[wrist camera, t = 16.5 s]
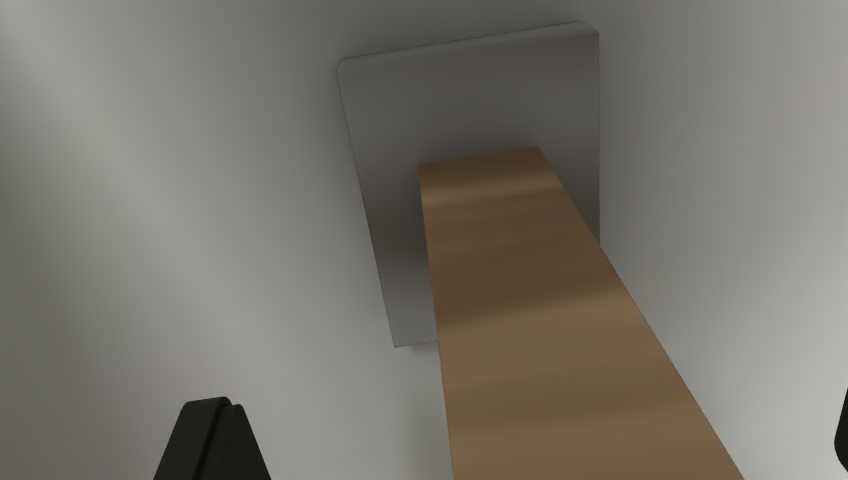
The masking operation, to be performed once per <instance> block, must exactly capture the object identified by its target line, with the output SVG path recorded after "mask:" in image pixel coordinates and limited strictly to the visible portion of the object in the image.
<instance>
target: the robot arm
mask: <svg viewBox="0 0 848 480" xmlns="http://www.w3.org/2000/svg"><path fill="white" fill-rule="evenodd" d="M834 446H835V451H836V454H837V457H838V459H839V461H840V462H841V464H842V465H843V467H844V468H845V469H846V470H847V472H848V389H847V392H846V396H845V400H844V404H843V408H842V412H841V416H840V420H839V423H838V427H837V431H836V435H835V440H834ZM153 480H271V478H270V475H269V473H268V470H267V468H266V465H265V462H264V460H263V457H262V455H261V452H260V449H259V447H258V444H257V442H256V439H255V437H254V434H253V431H252V429H251V426H250V424H249V421H248V418H247V416H246V413H245V411H244V409H243V407H242V406H241V405H240V404H236V405H232V404H231V402H230V400H229V399H228V398H227V397H216V398H210V399H203V400H196V401H189V402H187V403H186V404H184V406H183V408H182V410H181V412H180V414H179V417H178V419H177V422H176V424H175V427H174V429H173V432H172V434H171V437H170V439H169V442H168V444H167V447H166V449H165V451H164V454H163V456H162V459H161V461H160V464H159V466H158V469H157V471H156V474H155V476H154V479H153Z"/></svg>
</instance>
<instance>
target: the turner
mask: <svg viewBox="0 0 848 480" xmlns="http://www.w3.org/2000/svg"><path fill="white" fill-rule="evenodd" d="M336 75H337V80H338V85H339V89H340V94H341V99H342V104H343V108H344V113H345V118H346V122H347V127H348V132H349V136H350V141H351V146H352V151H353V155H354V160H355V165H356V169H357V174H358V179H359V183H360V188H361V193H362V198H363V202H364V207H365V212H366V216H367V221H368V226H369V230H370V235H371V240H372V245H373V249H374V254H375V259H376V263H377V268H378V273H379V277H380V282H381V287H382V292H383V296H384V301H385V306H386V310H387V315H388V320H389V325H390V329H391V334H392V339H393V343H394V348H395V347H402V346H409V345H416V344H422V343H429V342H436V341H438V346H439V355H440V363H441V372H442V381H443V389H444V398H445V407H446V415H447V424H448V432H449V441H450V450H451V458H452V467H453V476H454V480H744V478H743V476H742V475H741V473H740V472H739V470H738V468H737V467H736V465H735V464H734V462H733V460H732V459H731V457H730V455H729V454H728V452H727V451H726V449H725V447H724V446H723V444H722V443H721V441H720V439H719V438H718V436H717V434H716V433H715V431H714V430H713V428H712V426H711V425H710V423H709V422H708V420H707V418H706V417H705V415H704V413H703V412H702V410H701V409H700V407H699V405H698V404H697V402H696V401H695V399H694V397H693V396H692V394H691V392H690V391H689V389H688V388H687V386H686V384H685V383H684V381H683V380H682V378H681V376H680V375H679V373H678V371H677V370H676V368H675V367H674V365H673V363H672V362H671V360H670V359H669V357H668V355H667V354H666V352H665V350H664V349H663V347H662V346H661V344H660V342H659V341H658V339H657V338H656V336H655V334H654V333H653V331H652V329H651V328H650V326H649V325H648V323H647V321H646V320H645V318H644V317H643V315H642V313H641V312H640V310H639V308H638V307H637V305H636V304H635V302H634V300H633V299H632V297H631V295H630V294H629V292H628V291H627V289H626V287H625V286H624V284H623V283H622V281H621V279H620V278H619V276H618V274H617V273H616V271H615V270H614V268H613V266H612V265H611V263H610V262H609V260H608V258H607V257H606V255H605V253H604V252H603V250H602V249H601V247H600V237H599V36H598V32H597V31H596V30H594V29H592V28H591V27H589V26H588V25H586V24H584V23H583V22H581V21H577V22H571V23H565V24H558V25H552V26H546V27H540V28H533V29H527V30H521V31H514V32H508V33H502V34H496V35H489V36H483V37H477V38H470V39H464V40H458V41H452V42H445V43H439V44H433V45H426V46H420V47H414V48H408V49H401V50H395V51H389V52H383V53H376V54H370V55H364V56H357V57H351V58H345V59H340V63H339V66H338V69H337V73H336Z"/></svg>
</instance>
